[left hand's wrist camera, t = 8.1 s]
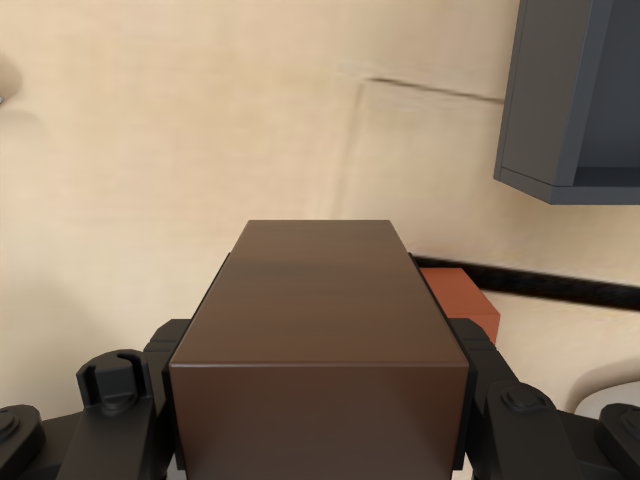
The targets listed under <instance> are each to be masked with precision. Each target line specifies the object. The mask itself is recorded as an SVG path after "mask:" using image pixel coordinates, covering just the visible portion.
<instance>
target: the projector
mask: <svg viewBox="0 0 640 480" xmlns="http://www.w3.org/2000/svg"><path fill="white" fill-rule="evenodd" d="M613 403H624V404H631V405H635V406H638V407H640V381H637V382H632V383H627V384H622V385H618V386H614V387H610V388H607V389H604V390H600V391H598V392H596V393H593V394H591V395H589V396H588V397H586V398H585V399H584V400H582V401H581V403H580V404H579V405H578V407H577V408H576V410H575V413H574V414H576V415H580V416H585V417H589V418H594V419H599V415H600V412H601V409H602V408H604V407H605V406H606V405H607V404H613Z"/></svg>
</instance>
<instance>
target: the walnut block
mask: <svg viewBox="0 0 640 480" xmlns="http://www.w3.org/2000/svg"><path fill="white" fill-rule="evenodd" d="M468 369H469V363H468V361H467V359H466V357H465V356H464V354H463V352H462V350H461V348H460V346H459V345H458V343H457V341H456V339H455V337H454V336H453V334H452V332H451V330H450V328H449V327H448V325H447V323H446V321H445V319H444V318H443V316H442V314H441V312H440V310H439V308H438V307H437V305H436V303H435V301H434V299H433V298H432V296H431V294H430V292H429V290H428V289H427V287H426V285H425V283H424V281H423V279H422V278H421V276H420V274H419V272H418V270H417V269H416V267H415V265H414V263H413V261H412V260H411V258H410V256H409V254H408V252H407V251H406V249H405V247H404V245H403V243H402V241H401V240H400V238H399V236H398V234H397V232H396V231H395V229H394V227H393V225H392V223H391V222H390V221H389V220H249V221H248V223H247V224H246V226H245V228H244V230H243V232H242V233H241V235H240V237H239V239H238V241H237V242H236V244H235V246H234V248H233V250H232V251H231V253H230V255H229V257H228V258H227V260H226V262H225V264H224V266H223V267H222V269H221V271H220V273H219V275H218V276H217V278H216V280H215V282H214V284H213V285H212V287H211V289H210V291H209V292H208V294H207V296H206V298H205V300H204V301H203V303H202V305H201V307H200V309H199V310H198V312H197V314H196V316H195V318H194V319H193V321H192V323H191V325H190V326H189V328H188V330H187V332H186V334H185V335H184V337H183V339H182V341H181V343H180V344H179V346H178V348H177V350H176V352H175V353H174V355H173V357H172V359H171V360H170V363H169V371H170V377H171V384H172V390H173V397H174V403H175V409H176V416H177V422H178V428H179V435H180V441H181V448H182V454H183V460H184V467H185V473H186V480H451V479H452V472H453V466H454V459H455V453H456V447H457V440H458V434H459V427H460V421H461V414H462V408H463V401H464V395H465V388H466V382H467V375H468Z"/></svg>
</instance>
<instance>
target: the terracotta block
mask: <svg viewBox="0 0 640 480" xmlns="http://www.w3.org/2000/svg"><path fill="white" fill-rule="evenodd" d="M420 270H421V272H422V273H423V275H424V277H425V279H426V280H427V282H428V284H429V286H430V287H431V289H432V291H433V293H434V294H435V296H436V298H437V300H438V301H439V303H440V305H441V307H442V308H443V310H444V312H445V314H446V315H447V317H448V318H469V319H471V320H472V321H473V322H475V323H476V324H478V325H479V326H481V327H482V328H483V330H484V331H485V333H486V334H487V335H488V337H489V338H490V341H492V343H493V344H494V345H495V342H496V337H497V331H498V326H499V320H500V313H499V312H498V311H497V310H496V309H495V308H494V306H493V305H492V304H491V303H490V302H489V300H488V299H487V298H486V297H485V296H484V294H483V293H482V292H481V291H480V290H479V288H478V287H477V286H476V285H475V284H474V283H473V281H472V280H471V279H470V278H469V277H468V275H467V274H466V273H465V272H464V271H463V269H462V268H420Z"/></svg>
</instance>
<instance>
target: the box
mask: <svg viewBox="0 0 640 480" xmlns="http://www.w3.org/2000/svg"><path fill="white" fill-rule="evenodd" d="M493 179H495V180H498V181H500V182H502V183H505V184H507V185H509V186H511V187H513V188H516V189H518V190H520V191H522V192H524V193H526V194H529V195H531V196H533V197H535V198H537V199H540V200H542V201H544V202H546V203H548V204H551V205H640V0H520V5H519V12H518V18H517V25H516V31H515V38H514V44H513V51H512V58H511V64H510V71H509V77H508V84H507V90H506V97H505V104H504V110H503V117H502V123H501V130H500V136H499V143H498V150H497V156H496V163H495V169H494V176H493Z"/></svg>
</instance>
